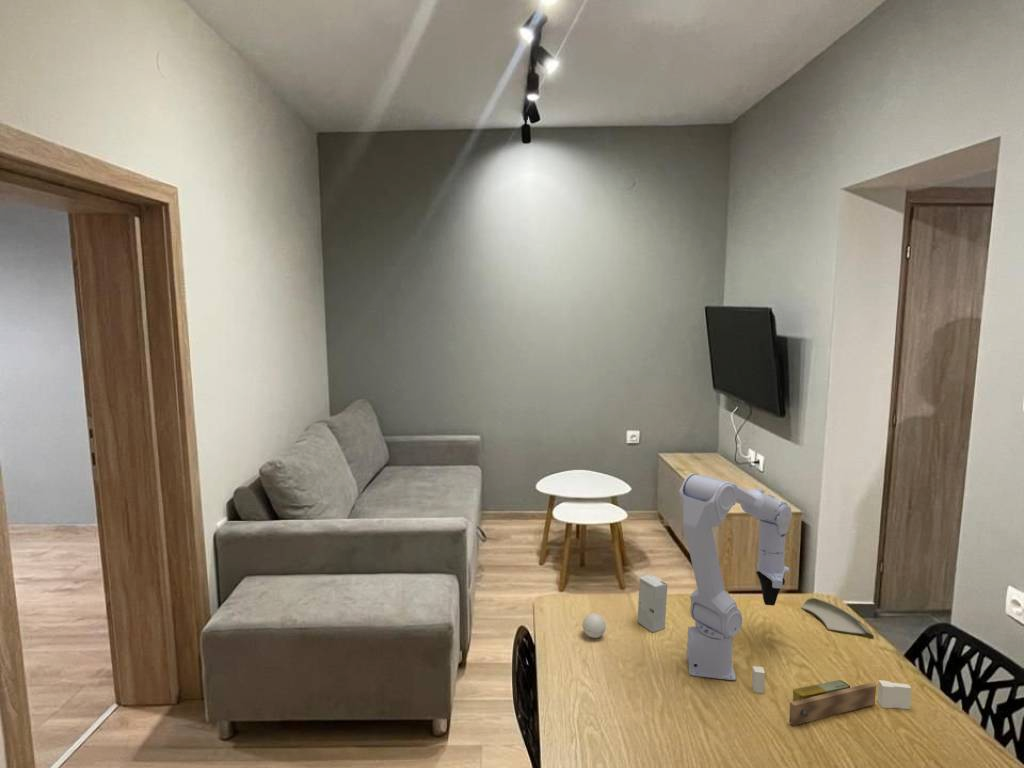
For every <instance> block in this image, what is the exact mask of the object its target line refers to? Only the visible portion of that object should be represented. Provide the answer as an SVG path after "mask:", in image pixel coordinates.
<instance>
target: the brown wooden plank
mask: <svg viewBox="0 0 1024 768" xmlns="http://www.w3.org/2000/svg"><path fill="white" fill-rule="evenodd" d="M876 694H877V685H876V684H874V683H873V682H868V683H865V684H861V685H857V686H856V685H855V686H850V688H847V689H843V690H839V691H835V692H831V693H827V694H822V695H818V696H814V697H810V698H806V699H802V700H798V701H793V700H792V701H790V702H789V719H788V720H789V721H788V722H789V723H790V724H791V725H793V726H796V725H799V724H803V723H808V722H811V721H815V720H819V719H822V718H823V719H824V718H827V717H830V716H835V715H838V714H843V713H847V712H851V711H855V710H858V709H862V708H866V707H870V706H874V705H876V696H877V695H876Z"/></svg>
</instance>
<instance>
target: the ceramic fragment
mask: <svg viewBox="0 0 1024 768" xmlns="http://www.w3.org/2000/svg"><path fill="white" fill-rule="evenodd" d="M800 610H802V611H805V612H806V613H809V614H811V615H812V616H814V617H816V618H818V620H819V621H820V622H821V623H822V624H823V625H824V626H825V628H826V630H827V631H828V632H834V633H840V634H844V635H846V634H847V635H855V636H861V637H866V638H871V639H874V633H872V632H871V631H870V629H869V628H868V627H867V626H866V625H865V624H864V623H863V622H862V621H861V620H859V619H858V618H857V617H856V616H854V615H853V614H852V613H850V612H848V611H847V610H846V609H844V608H842V607H839V606H838V605H836V604H834V603H831V602H829V601H826V600H824V599H820V598H816V597H809V598H807V599H806V601H805V602H804V603H802V606H801V607H800Z"/></svg>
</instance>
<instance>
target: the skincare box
mask: <svg viewBox="0 0 1024 768" xmlns="http://www.w3.org/2000/svg"><path fill="white" fill-rule="evenodd" d="M638 586H639V587H638V605H637V606H638V607H637V608H638V609H637V623H639V624H640V625H641V626H642V627H644V628H645V629H647V630H648V631H650V632H651V633H655V632H658V631H661V630H664V629H666V613H667V612H666V611H667V598H668V597H667V596H668V583H667V582H666V581H664V580H663V579H661V578H660V577H658V576H655V575H654V574H652V573H650V574H646V575H643V576H640V577H639V585H638Z"/></svg>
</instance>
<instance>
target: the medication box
mask: <svg viewBox="0 0 1024 768" xmlns="http://www.w3.org/2000/svg"><path fill="white" fill-rule="evenodd" d="M847 688H851V685H850V684H849V683H847V682H844V681H843V680H841V679H837V680H832V681H828V682H824V683H818V684H814V685H813V684H812V685H809V686H803V687H799V688H798V687H797V688H794V689H792V702H793V701H798V700H802V699H806V698H810V697H814V696H818V695H822V694H827V693H831V692H835V691H839V690H843V689H847Z"/></svg>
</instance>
